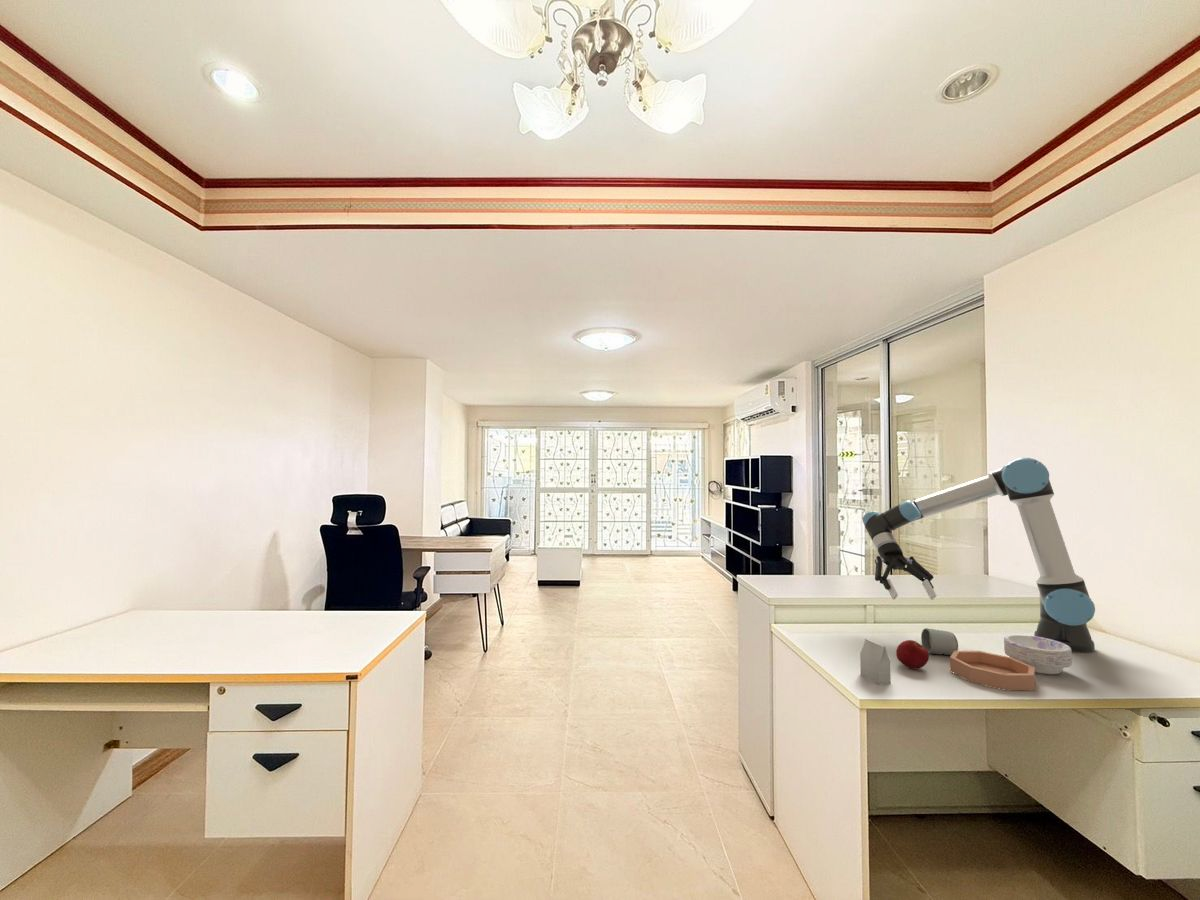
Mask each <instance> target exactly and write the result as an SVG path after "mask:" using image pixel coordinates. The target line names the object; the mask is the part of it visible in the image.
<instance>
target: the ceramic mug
mask: <svg viewBox="0 0 1200 900" xmlns="http://www.w3.org/2000/svg"><path fill="white" fill-rule="evenodd" d="M920 640H921V641H920V642H921V645H922V646H923V647H925V648H926V650H927V651H928V653H929V655H931V654H932V655H942V654H944V656H951V655H952V654H953V652H954V651H959V643H958V639H957V637H956V635H955V634H954V633H953V632H951V631H948V630H941V629H940V630H939V629H934V628H923V629H922V632H921V638H920Z"/></svg>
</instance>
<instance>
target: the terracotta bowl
mask: <svg viewBox="0 0 1200 900" xmlns="http://www.w3.org/2000/svg"><path fill="white" fill-rule="evenodd" d="M949 670H950V672H951V671H952V672H951V673H953V672H954V673H953V674H955V673H956V674H955V675H957V676H959V677H960V676H961V677H960V678H962V677H963V678H962V679H964V678H965V680H966V679H967V680H966V681H968V680H969V681H968V682H970V683H973V682H974V684H977V683H979V684H978V685H981V684H982V685H983V686H985V685H987V686H986V687H989V686H991V687H990V688H993V687H995V689H998V688H1000V689H999V690H1002V689H1005V690H1004V691H1006V690H1034V691H1035V688H1036V687H1035V686H1036V672H1035V667H1032V666H1030V665H1028V664H1025V663H1023V662H1021V661H1018V660H1016V659H1014V658H1011V657H1009V656H1008V655H1001V654H996V653H991V652H986V651H981V650H958V651H954V652H953V654H952V655H950V657H949ZM1034 687H1035V688H1034Z"/></svg>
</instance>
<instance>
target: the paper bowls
mask: <svg viewBox="0 0 1200 900" xmlns="http://www.w3.org/2000/svg"><path fill="white" fill-rule="evenodd" d="M1003 644H1004V645H1003V646H1004V647H1003V649H1004V650H1003V651H1004V654H1005V656H1007V657H1011V658H1014V659H1016V660H1018V661H1021V662H1023V663H1025V664H1028V665H1030V666H1032V667H1035V674H1036V673H1037V674H1043V675H1057V674H1061V673H1062V672H1063V670H1064V669H1065V668H1069V667H1071V666H1072V665H1073V654H1072V652H1073V651H1072V650H1071V648H1070V647H1069V646H1068V645H1066V644H1064V643H1061V642H1058V641H1055V640H1051V639H1047V638H1042V637H1036V636H1034V635H1027V634H1009V635H1005V636H1004V638H1003Z"/></svg>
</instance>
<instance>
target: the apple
mask: <svg viewBox="0 0 1200 900" xmlns="http://www.w3.org/2000/svg"><path fill="white" fill-rule="evenodd" d="M895 654H896V658H897V660H898V661H899V663H900V664H901V665H903V666H904V667H906V668H909V669H911V670H919V669H922V668H923V667H924V666H926V665H927V663H928V661H929V659H930V654H929V653H928V651H927V650H926V648H925V647H923V646H922V644H921V643H919V642H917V641H915V640H912V639H906V640H903V641H902V642H901V643H900V644H898V646H897V647H896V651H895Z"/></svg>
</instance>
